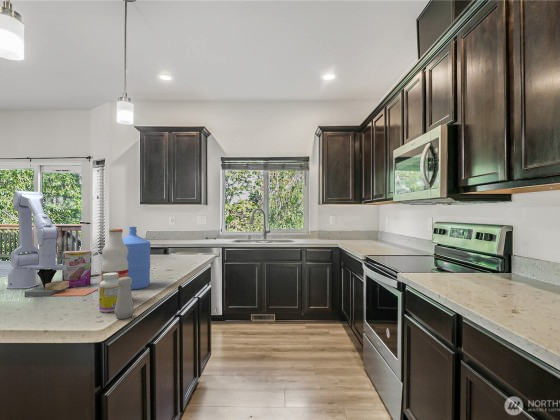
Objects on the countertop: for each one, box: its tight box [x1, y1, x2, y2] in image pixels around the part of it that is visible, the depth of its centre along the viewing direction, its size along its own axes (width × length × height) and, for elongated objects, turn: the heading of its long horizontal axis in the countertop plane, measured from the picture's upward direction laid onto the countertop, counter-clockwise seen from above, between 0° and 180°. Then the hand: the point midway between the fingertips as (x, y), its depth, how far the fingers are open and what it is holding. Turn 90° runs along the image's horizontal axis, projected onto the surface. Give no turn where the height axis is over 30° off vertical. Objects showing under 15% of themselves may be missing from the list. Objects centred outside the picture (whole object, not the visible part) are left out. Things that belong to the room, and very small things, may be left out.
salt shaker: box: [114, 277, 135, 320], centre depth 102 cm, size 6×6×13 cm
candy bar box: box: [61, 250, 93, 289], centre depth 145 cm, size 11×5×16 cm, turn 130°
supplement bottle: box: [98, 273, 120, 313], centre depth 110 cm, size 7×7×13 cm
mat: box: [51, 288, 99, 297], centre depth 133 cm, size 13×11×1 cm
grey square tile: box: [24, 285, 68, 298], centre depth 132 cm, size 10×11×2 cm
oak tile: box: [45, 280, 69, 290], centre depth 132 cm, size 6×6×2 cm
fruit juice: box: [100, 228, 128, 283], centre depth 122 cm, size 9×9×28 cm
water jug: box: [122, 226, 151, 291], centre depth 145 cm, size 16×16×28 cm
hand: (46, 287), depth 132 cm, fingers closed
